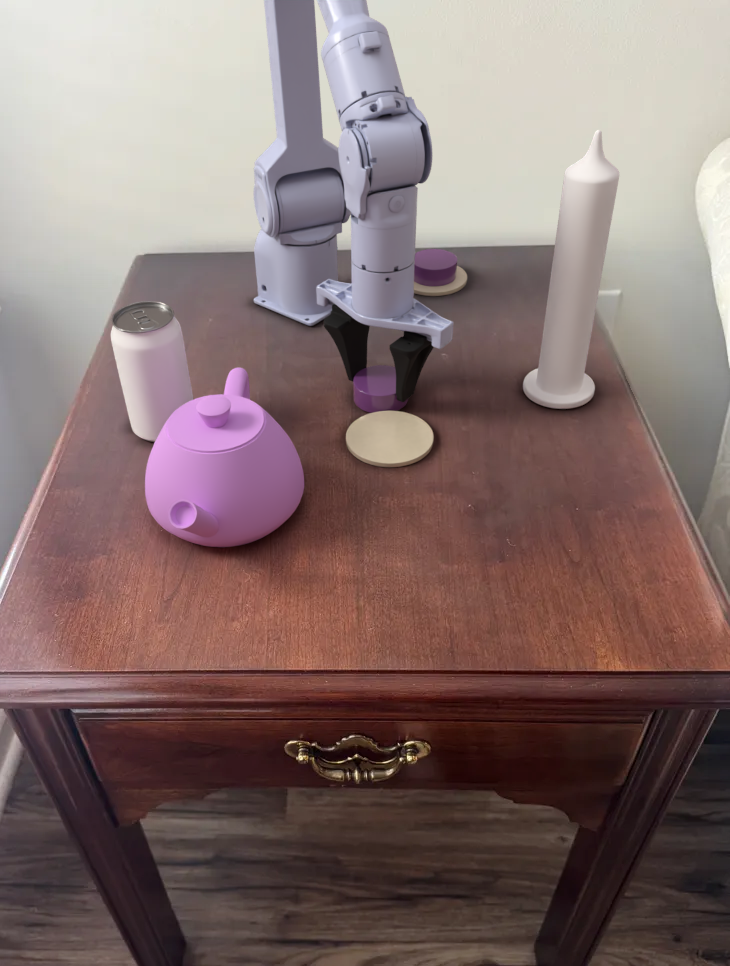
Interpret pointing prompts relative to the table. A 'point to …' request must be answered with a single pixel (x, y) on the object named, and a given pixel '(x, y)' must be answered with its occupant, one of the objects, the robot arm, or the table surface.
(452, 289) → the coaster far
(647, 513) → the table surface
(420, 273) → the purple round puck
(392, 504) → the table surface
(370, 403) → the purple puck
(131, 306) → the can
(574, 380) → the candle
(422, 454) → the coaster near
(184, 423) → the teapot
